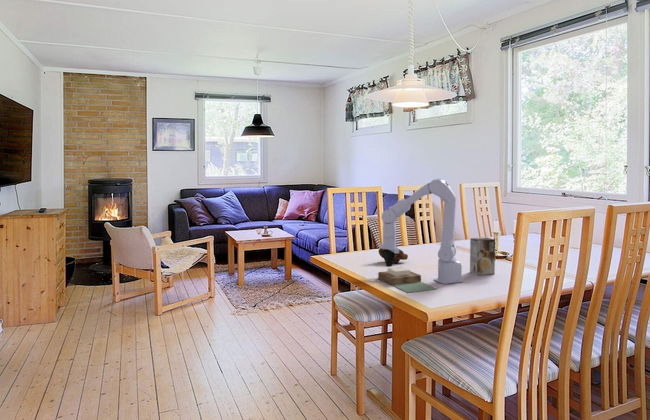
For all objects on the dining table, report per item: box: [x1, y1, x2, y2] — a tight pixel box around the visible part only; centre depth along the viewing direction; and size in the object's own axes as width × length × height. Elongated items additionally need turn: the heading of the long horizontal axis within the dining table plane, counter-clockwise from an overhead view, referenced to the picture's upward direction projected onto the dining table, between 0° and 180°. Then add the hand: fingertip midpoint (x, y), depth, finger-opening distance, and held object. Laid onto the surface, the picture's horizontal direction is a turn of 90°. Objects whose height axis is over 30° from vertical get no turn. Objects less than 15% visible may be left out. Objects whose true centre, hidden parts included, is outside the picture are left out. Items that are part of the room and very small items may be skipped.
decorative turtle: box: [378, 248, 409, 264], centre depth 238 cm, size 10×15×8 cm, turn 99°
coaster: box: [387, 266, 411, 276], centre depth 202 cm, size 7×7×2 cm
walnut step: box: [377, 270, 422, 286], centre depth 201 cm, size 14×12×3 cm
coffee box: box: [469, 237, 496, 276], centre depth 214 cm, size 9×6×16 cm
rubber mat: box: [391, 281, 438, 294], centre depth 191 cm, size 14×12×1 cm
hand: (388, 266), depth 210 cm, fingers closed
